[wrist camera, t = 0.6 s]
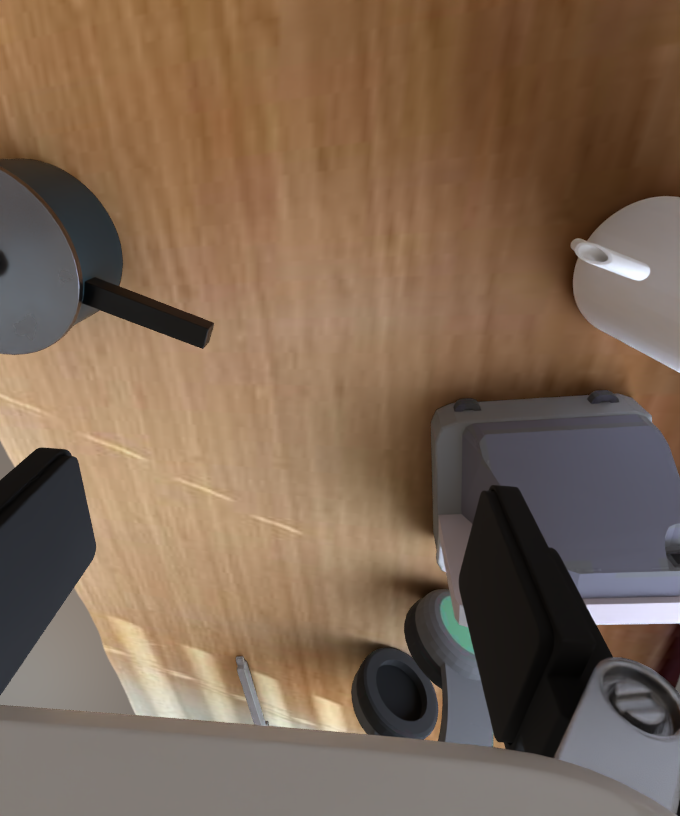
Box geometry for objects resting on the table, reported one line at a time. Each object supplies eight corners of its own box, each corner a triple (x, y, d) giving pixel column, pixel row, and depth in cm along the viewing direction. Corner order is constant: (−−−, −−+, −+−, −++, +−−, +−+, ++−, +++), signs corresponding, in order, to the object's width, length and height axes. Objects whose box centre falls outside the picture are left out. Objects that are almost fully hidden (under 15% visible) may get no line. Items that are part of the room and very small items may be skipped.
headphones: (420, 568, 56) (445, 757, 38) (496, 600, 58) (553, 795, 40) (346, 654, 64) (338, 842, 47) (415, 679, 66) (432, 869, 48)
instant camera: (409, 538, 54) (423, 663, 40) (439, 373, 44) (470, 467, 31) (595, 553, 53) (670, 684, 40) (667, 391, 44) (799, 494, 30)
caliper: (281, 734, 75) (274, 780, 69) (274, 734, 75) (267, 781, 69) (243, 653, 65) (232, 699, 60) (235, 654, 65) (224, 700, 60)
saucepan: (-38, 122, 36) (-152, 112, 28) (248, 240, 39) (218, 262, 31) (-38, 289, 42) (-131, 319, 34) (208, 379, 45) (175, 426, 37)
